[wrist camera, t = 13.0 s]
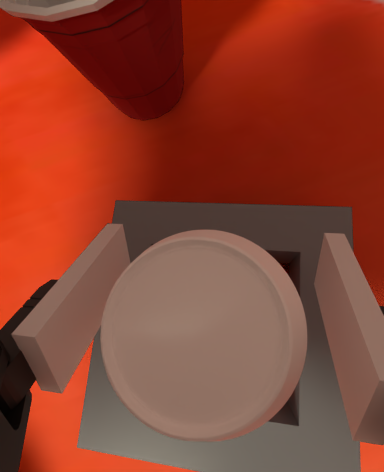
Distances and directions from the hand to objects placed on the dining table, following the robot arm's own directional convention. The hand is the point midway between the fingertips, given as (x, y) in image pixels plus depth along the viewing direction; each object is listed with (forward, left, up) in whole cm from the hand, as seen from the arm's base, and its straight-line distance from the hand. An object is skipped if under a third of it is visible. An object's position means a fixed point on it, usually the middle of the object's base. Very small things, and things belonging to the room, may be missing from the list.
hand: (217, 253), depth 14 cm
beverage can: (0, -3, -6) cm, 7 cm away
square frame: (0, -3, -6) cm, 7 cm away
